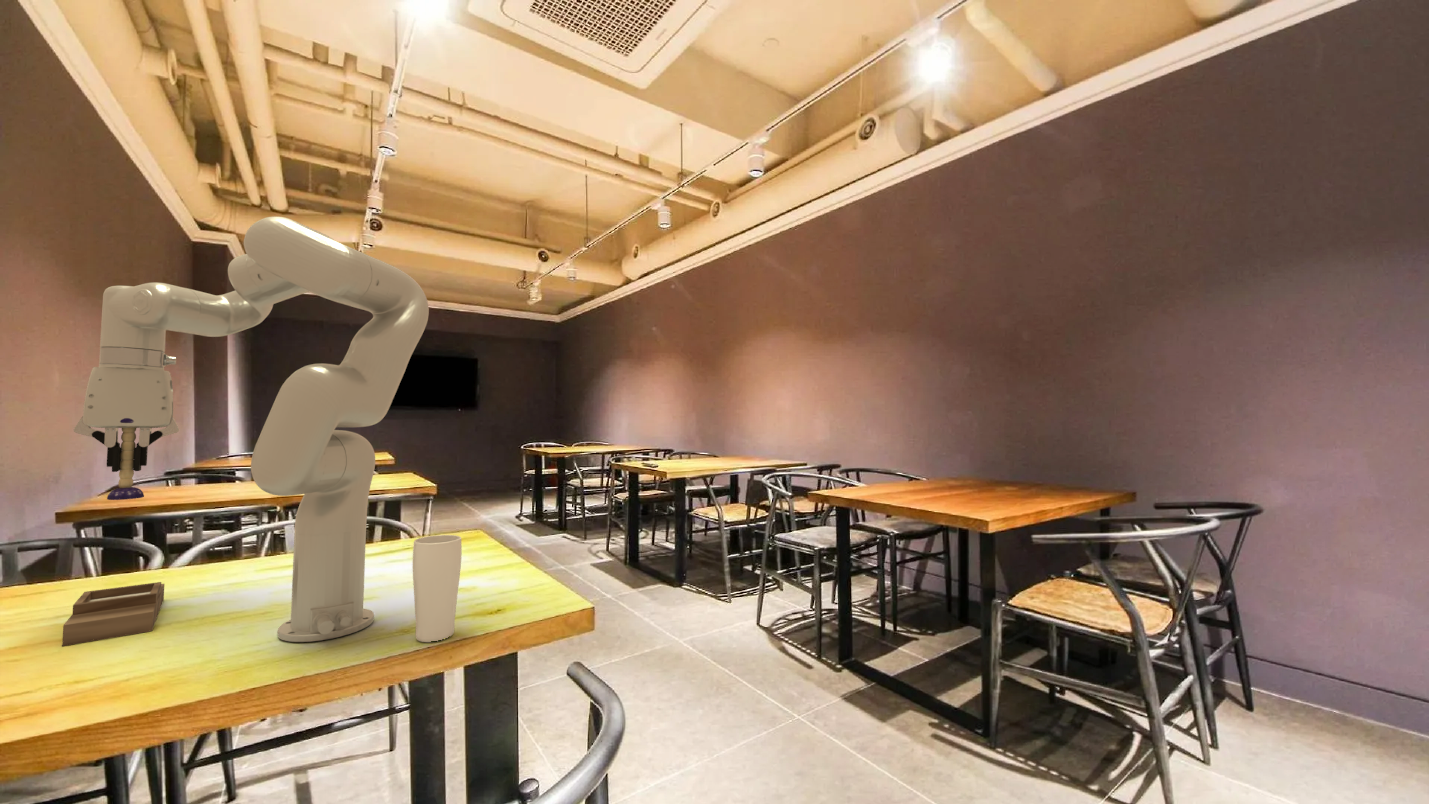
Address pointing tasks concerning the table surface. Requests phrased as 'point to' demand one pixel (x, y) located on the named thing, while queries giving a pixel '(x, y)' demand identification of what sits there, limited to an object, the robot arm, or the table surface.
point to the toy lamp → (126, 467)
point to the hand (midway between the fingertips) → (126, 470)
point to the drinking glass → (436, 585)
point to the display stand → (113, 613)
